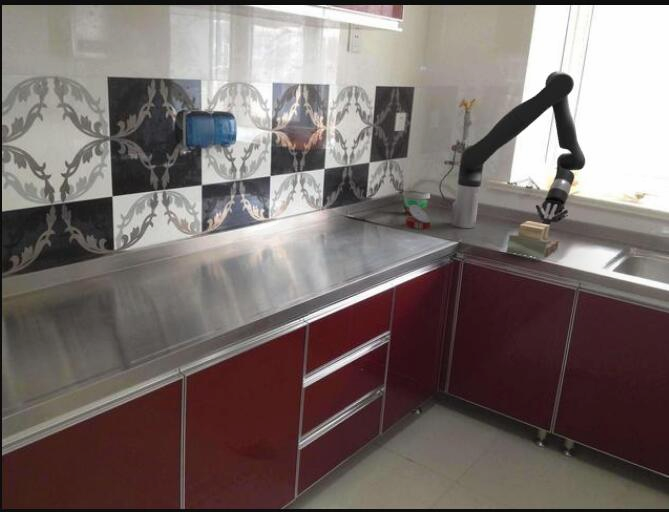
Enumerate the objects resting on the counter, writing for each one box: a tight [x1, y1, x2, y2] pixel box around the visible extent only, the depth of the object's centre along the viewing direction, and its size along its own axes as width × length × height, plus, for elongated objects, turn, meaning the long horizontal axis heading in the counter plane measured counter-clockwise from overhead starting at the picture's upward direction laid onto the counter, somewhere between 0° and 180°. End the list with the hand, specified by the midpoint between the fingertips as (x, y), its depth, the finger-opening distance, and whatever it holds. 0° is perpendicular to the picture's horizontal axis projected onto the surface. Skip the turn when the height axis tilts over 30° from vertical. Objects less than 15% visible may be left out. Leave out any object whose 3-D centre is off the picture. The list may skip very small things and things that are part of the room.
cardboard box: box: [517, 220, 551, 241], centre depth 232 cm, size 10×8×7 cm
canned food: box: [405, 204, 431, 230], centre depth 260 cm, size 11×10×10 cm
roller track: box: [506, 233, 560, 260], centre depth 236 cm, size 20×13×6 cm, turn 147°
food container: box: [402, 190, 431, 216], centre depth 280 cm, size 12×6×10 cm, turn 80°
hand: (544, 228), depth 245 cm, fingers closed
